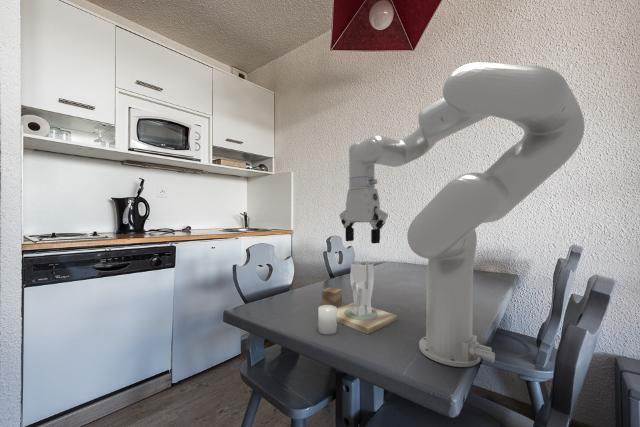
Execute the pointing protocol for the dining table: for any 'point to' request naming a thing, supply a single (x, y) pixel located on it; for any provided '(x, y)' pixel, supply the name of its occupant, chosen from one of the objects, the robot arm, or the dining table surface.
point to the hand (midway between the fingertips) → (362, 242)
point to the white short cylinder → (327, 319)
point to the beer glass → (362, 287)
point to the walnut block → (332, 296)
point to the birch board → (364, 319)
